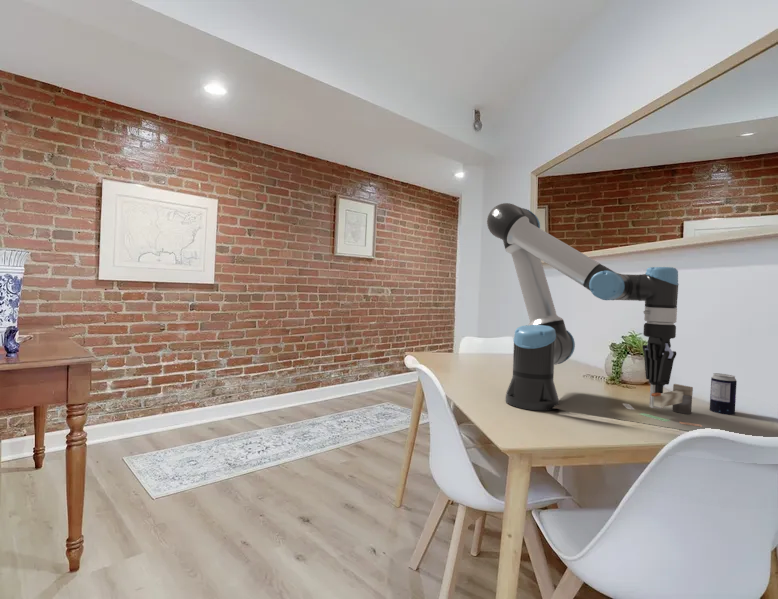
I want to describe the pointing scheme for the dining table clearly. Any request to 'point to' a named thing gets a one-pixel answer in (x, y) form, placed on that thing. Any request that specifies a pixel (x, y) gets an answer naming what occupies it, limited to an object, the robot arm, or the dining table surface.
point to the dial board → (657, 418)
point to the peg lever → (676, 399)
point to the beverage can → (723, 394)
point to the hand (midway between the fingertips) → (655, 407)
